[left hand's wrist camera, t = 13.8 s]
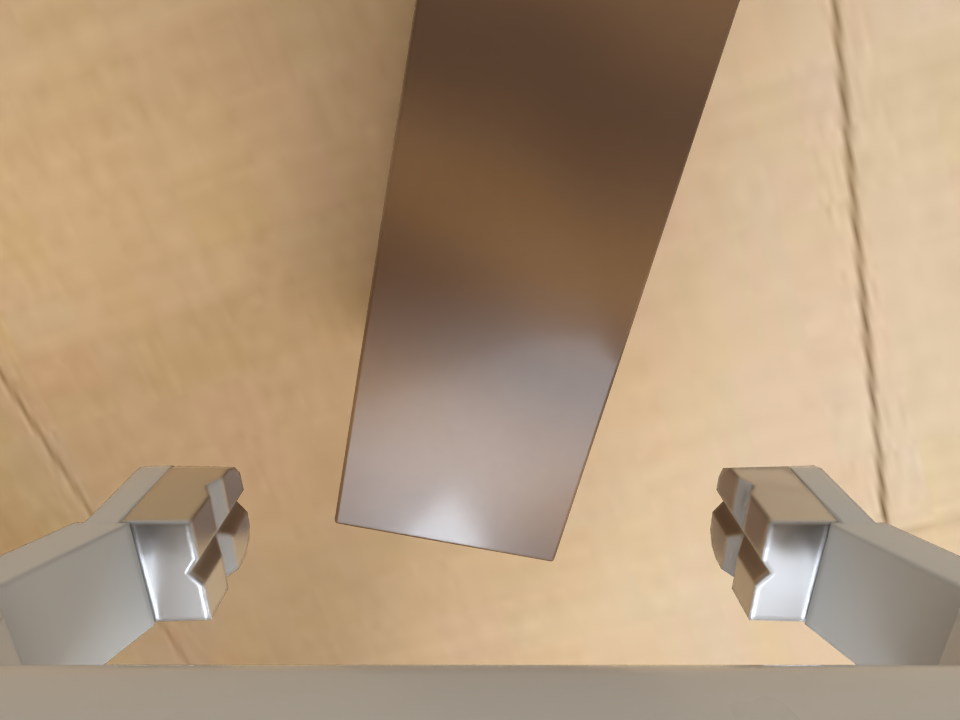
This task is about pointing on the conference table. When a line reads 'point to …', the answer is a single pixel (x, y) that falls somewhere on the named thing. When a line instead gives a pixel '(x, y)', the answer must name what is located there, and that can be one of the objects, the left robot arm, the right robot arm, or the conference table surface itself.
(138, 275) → the conference table surface
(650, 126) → the box
